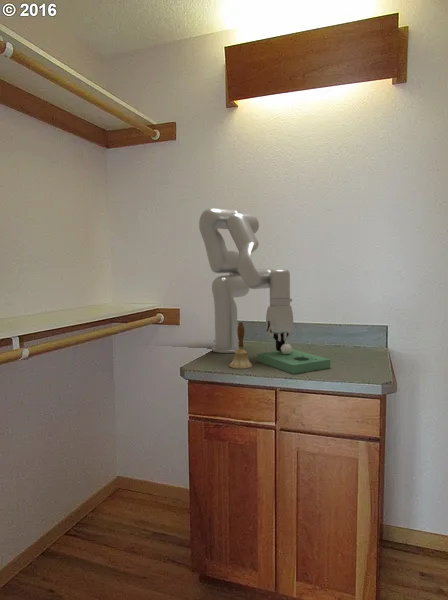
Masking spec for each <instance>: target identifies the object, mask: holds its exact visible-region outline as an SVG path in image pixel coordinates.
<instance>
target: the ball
mask: <svg viewBox="0 0 448 600" xmlns="http://www.w3.org/2000/svg"><path fill="white" fill-rule="evenodd" d="M292 349H293V347H292V345H291V344H289V343H285V344H283V345H282V346H281V352H282V353H283V354H289V353H290V352H291V350H292Z"/></svg>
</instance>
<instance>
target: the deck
mask: <svg viewBox="0 0 448 600" xmlns="http://www.w3.org/2000/svg"><path fill="white" fill-rule="evenodd" d="M256 355H257V356H256V357H257V358H256V359H257V360H256V362H259V363H260V364H265V365H267V366H270V367H271V368H275V369H278V370H280V371H284V372H287V373H289V374H292V375H296V374H302V373H308V372H314V371H319V370H325V369H326V370H328V369H330V368H331V359H330V358H326V357H323V356H319V355H316V354H312V353H308V352H304V351H301V350H297V349H293V348H292V350H291V352H290V353H289V354H283V353H282V352H280V351H277V350H273V351H272V350H271V351H265V352H258V353H257V354H256Z"/></svg>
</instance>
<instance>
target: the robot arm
mask: <svg viewBox="0 0 448 600" xmlns="http://www.w3.org/2000/svg"><path fill="white" fill-rule="evenodd" d="M198 227H199V232H200V235H201V238H202V241H203V242H204V246H205V252H206V256H207V258H208V263H209V267H210V270H211V271H212V272H213V273H214V274H225V275H220V276H216V278H214V279H213V281H212V284H211V292H212V297H213V304H214V306H213V307H214V340H213V343H214V346H212V347H211V351H212V352H213V353H222V354H223V353H224V354H231V353H233V354H234V353H235V351H236V350H238V349H239V338H238V334H237V328H238V308H237V307H238V306H237V304H236V301H235V300H234V298H241V297H245V296H247V295H248V293H249V291H250V289H251V290H261V289H269V306H267V310H266V315H265V332H266V333H267V337H270V338H273V339H274V340H275V351H280V352H281V346H282V345H283V344H286V340H287V338H288V337H289V336H290V335H292V334H293V330H294V315H293V314H294V313H293V308H292V305H291V303H292V302H293V299H292V298H291V273H290V270H289V269H279V268H278V269H272V268H256V267H255V265H254V263H253V261H252V253H254V251H255V252H256V250H257V249H259V245H260V244H259V241H258V239H257V237H256V235H255V234H256V233H257V232H258V231H259V229H260V224H259V220H258V218H257V216H255V215H254V214H252V213H248V212H243V211H240V210H235V209H231V208H230V209H229V208H222V207H221V208H220V207H209V208H207V209H205V210H203V211H202V213H201V214H200V217H199V222H198ZM219 230H228V231H229V234H230V236H231V238H232V240H233V242H234V244H235V246H236V249H237V250H238V251H234V250H228V248H227V246H226V245H227V244H226V241H225V239H224V237H223V236H222V234H221V233H220V232H219ZM226 274H227V275H226Z"/></svg>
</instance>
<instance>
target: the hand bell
mask: <svg viewBox="0 0 448 600" xmlns="http://www.w3.org/2000/svg"><path fill="white" fill-rule="evenodd" d="M237 337H238V346H239V349H238V350H236V351H235V352H234V353H233V354H234V356H233V359H232V362H230V364H229V365H228V366H229V367H230V368H232V369H237V370H243V369H244V370H245V369H250V368H252V367H253V364H252V363H251V362H250V360H249V356H248V351H247V350H245V349H244V337H245V326H244V323H243V322H242V321H239V322H238V324H237Z"/></svg>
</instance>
